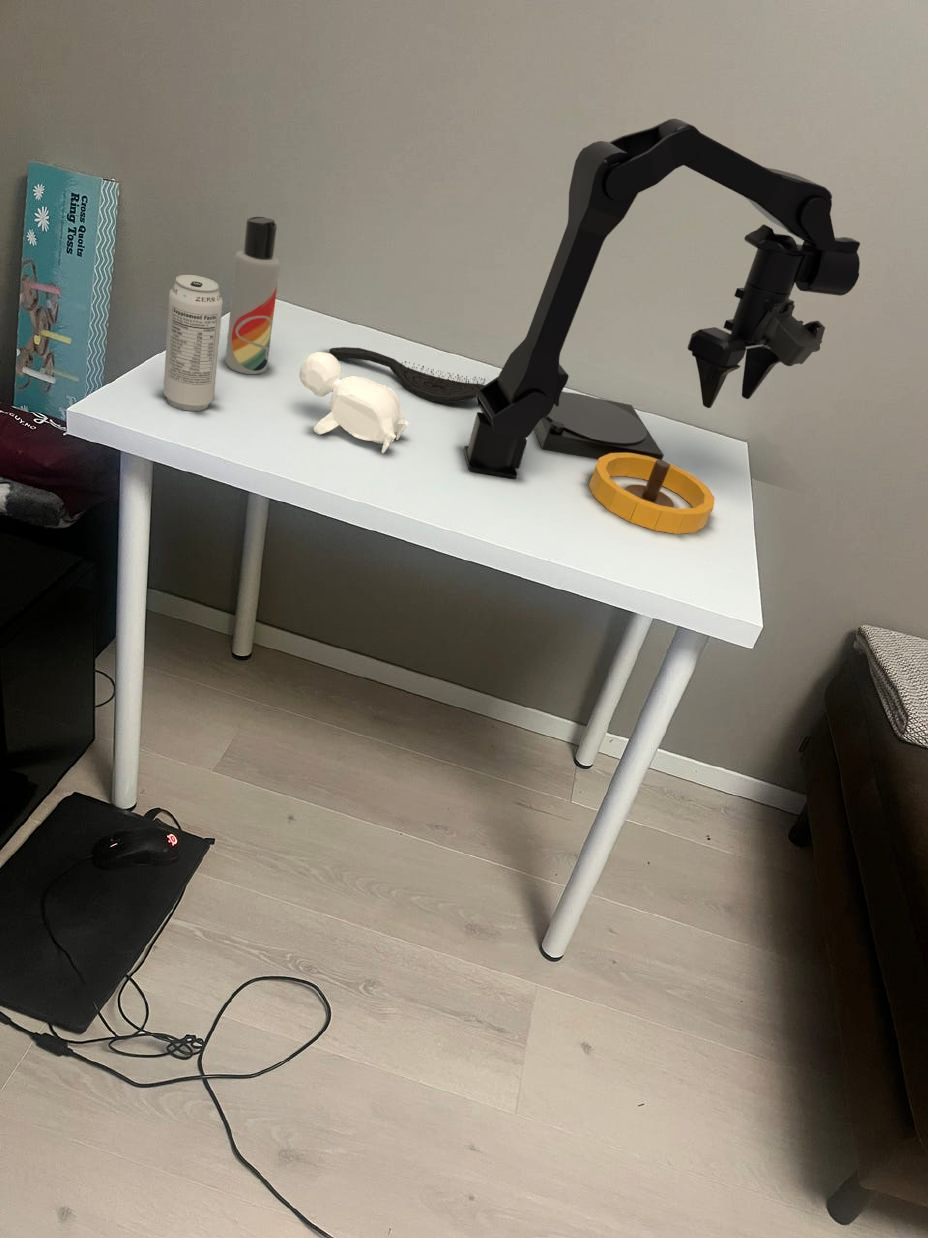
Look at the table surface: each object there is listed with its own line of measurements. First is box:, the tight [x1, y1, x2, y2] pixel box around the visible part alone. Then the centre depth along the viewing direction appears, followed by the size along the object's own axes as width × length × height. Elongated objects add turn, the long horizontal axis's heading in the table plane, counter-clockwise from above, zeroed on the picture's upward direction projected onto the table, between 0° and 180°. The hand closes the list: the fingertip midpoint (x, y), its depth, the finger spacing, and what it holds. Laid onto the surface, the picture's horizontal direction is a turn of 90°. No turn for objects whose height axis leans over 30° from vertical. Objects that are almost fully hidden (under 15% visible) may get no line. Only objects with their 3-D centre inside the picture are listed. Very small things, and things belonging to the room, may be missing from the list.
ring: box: [588, 453, 715, 535], centre depth 123 cm, size 16×16×3 cm
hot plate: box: [533, 391, 665, 460], centre depth 138 cm, size 18×18×3 cm
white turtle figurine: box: [299, 351, 410, 454], centre depth 117 cm, size 8×8×15 cm
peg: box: [623, 459, 675, 508], centre depth 122 cm, size 7×7×6 cm
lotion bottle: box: [225, 216, 281, 375], centre depth 122 cm, size 6×6×20 cm
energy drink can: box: [163, 274, 224, 412], centre depth 110 cm, size 6×6×15 cm
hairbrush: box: [328, 346, 486, 404], centre depth 137 cm, size 8×4×25 cm
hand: (726, 402), depth 124 cm, fingers open, 9 cm apart
